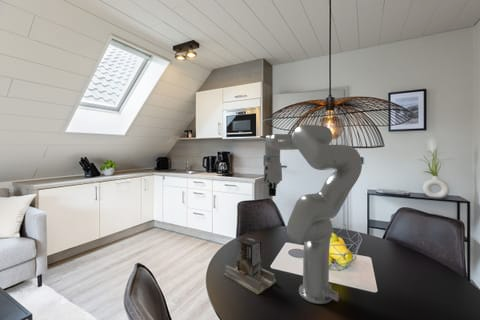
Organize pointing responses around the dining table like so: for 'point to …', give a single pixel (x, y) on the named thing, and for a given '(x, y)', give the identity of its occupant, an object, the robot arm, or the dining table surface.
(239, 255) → the coffee box
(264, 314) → the dining table surface
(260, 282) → the rail
